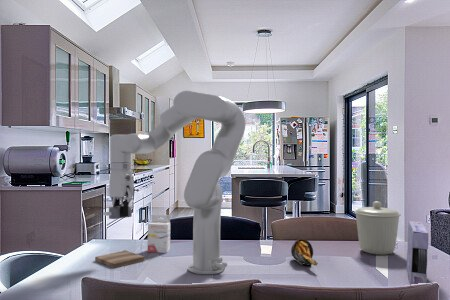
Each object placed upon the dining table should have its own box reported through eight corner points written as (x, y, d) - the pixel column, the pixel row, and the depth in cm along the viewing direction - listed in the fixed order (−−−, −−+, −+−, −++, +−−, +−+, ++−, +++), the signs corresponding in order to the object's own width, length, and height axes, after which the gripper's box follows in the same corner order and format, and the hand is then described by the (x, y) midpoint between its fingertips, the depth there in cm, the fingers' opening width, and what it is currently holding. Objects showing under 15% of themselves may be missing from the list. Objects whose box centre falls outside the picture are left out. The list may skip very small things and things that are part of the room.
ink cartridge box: (147, 252, 158) (147, 216, 158) (150, 249, 163) (150, 214, 163) (167, 253, 158) (167, 216, 158) (170, 250, 162) (170, 214, 163)
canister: (410, 255, 156) (411, 203, 156) (375, 259, 150) (375, 205, 150) (377, 245, 173) (378, 198, 173) (344, 248, 166) (345, 199, 167)
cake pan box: (428, 291, 116) (428, 232, 116) (410, 288, 118) (410, 230, 118) (422, 272, 134) (422, 221, 134) (406, 270, 136) (406, 220, 136)
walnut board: (144, 260, 146) (144, 256, 146) (114, 268, 137) (114, 263, 137) (125, 254, 155) (125, 250, 155) (95, 260, 145) (95, 256, 145)
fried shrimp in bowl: (306, 244, 154) (334, 239, 138) (302, 272, 149) (330, 270, 133) (286, 237, 152) (312, 230, 136) (281, 265, 147) (307, 261, 131)
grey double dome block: (133, 216, 148) (133, 205, 148) (107, 220, 140) (107, 209, 140) (127, 215, 151) (127, 204, 151) (102, 218, 143) (101, 208, 143)
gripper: (141, 167, 143) (141, 217, 143) (117, 166, 155) (117, 212, 155) (124, 168, 138) (124, 219, 138) (100, 167, 149) (100, 214, 149)
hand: (120, 215), depth 146 cm, fingers closed on grey double dome block, 4 cm apart
